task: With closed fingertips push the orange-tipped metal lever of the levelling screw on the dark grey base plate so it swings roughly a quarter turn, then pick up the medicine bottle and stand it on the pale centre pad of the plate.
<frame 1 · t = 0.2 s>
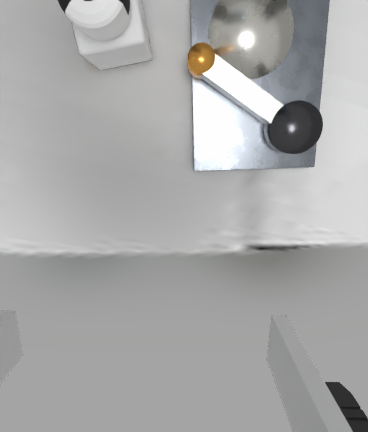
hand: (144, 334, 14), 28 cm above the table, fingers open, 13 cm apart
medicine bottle: (119, 35, 35), on the table
ball lever handle: (252, 99, 33), point 4 cm above the table, hinge at 0.0°
dark grey base plate: (254, 65, 36), on the table
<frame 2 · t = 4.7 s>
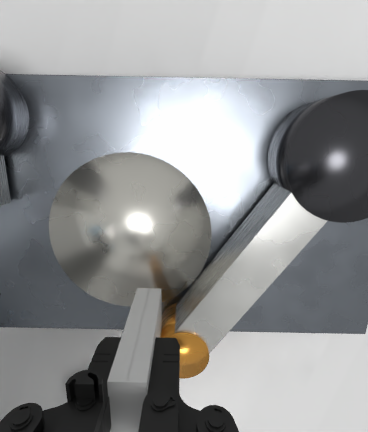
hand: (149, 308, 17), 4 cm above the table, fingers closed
ball lever handle: (260, 246, 16), point 4 cm above the table, hinge at 0.5°, touching gripper
dark grey base plate: (180, 211, 19), on the table
knob b: (6, 115, 18), resting on dark grey base plate
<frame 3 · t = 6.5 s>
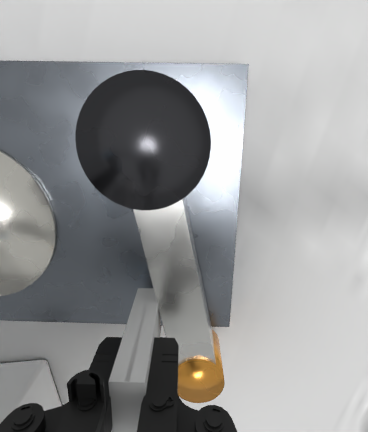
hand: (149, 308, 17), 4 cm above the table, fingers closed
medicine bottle: (20, 392, 24), on the table
ball lever handle: (173, 253, 15), point 4 cm above the table, hinge at 47.3°, touching gripper
dark grey base plate: (39, 200, 19), on the table
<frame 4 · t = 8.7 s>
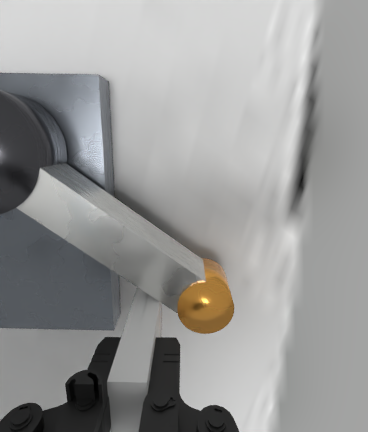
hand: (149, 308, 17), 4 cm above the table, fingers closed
ball lever handle: (94, 219, 15), point 4 cm above the table, hinge at 89.2°, touching gripper
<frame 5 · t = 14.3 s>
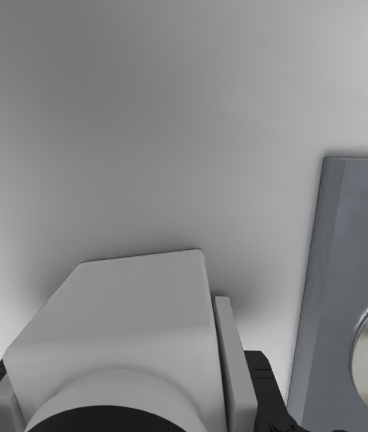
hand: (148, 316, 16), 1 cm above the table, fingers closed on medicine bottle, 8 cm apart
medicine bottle: (150, 306, 17), on the table, touching gripper
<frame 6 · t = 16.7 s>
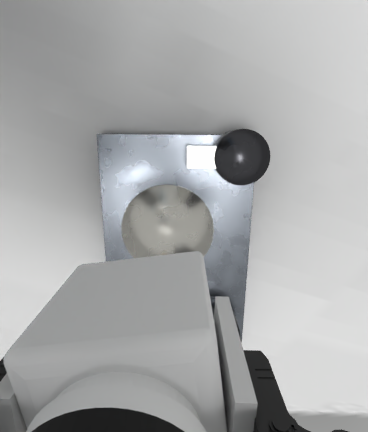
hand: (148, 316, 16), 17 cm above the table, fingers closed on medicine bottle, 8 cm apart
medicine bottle: (149, 308, 17), point 16 cm above the table, touching gripper
ball lever handle: (180, 362, 33), point 4 cm above the table, hinge at 89.2°
dark grey base plate: (177, 248, 33), on the table
knob b: (232, 154, 30), resting on dark grey base plate
when the fingers open (4 cm above the table, at t = 19.5 s): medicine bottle drops 1 cm, resting on dark grey base plate.
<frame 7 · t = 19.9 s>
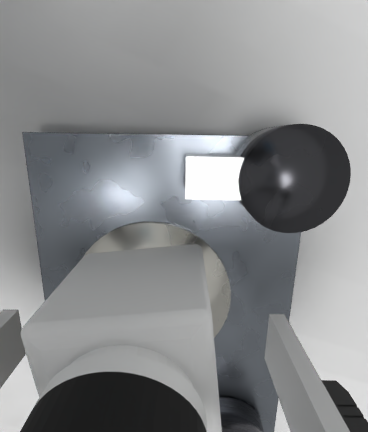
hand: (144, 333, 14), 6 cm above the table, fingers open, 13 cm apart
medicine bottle: (150, 297, 18), point 2 cm above the table, touching dark grey base plate
dark grey base plate: (169, 317, 21), on the table
knob b: (264, 169, 18), resting on dark grey base plate
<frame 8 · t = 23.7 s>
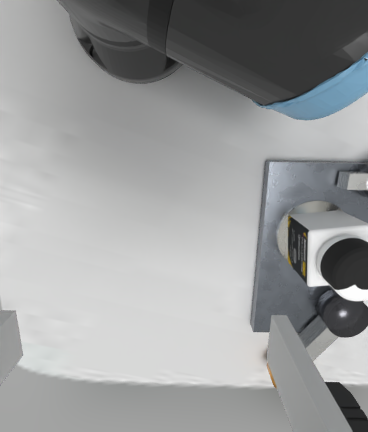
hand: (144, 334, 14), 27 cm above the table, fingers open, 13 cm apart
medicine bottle: (312, 236, 39), point 2 cm above the table, touching dark grey base plate
ball lever handle: (313, 340, 42), point 4 cm above the table, hinge at 89.2°
dark grey base plate: (310, 250, 42), on the table
knob b: (364, 177, 39), resting on dark grey base plate
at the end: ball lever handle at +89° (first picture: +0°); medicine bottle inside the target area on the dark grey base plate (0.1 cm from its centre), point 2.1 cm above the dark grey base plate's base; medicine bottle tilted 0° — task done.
